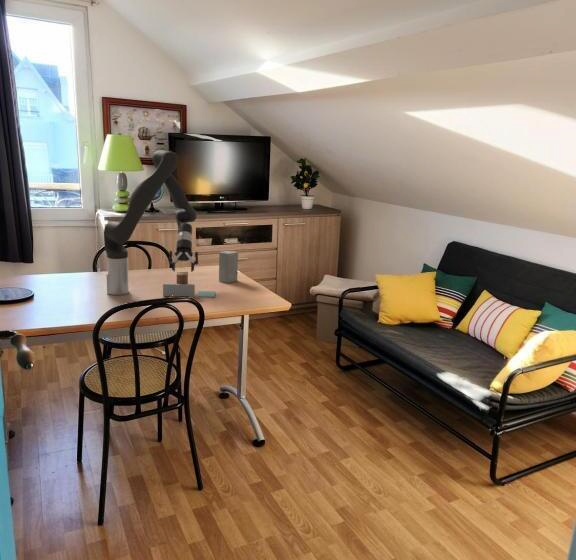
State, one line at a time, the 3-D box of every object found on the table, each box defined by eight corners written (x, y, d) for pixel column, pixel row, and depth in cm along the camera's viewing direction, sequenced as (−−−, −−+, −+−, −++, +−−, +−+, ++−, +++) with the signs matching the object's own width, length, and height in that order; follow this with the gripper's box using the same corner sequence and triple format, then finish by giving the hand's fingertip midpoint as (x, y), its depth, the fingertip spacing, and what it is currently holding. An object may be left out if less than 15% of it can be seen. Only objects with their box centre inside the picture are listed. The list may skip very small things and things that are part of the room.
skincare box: (227, 283, 271) (228, 254, 267) (217, 280, 275) (218, 251, 271) (238, 280, 278) (239, 251, 274) (228, 278, 282) (229, 249, 278)
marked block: (176, 295, 248) (176, 274, 245) (177, 291, 253) (177, 271, 250) (187, 295, 249) (187, 275, 246) (187, 292, 254) (187, 272, 251)
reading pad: (197, 297, 247) (197, 295, 247) (198, 292, 254) (198, 290, 254) (214, 297, 248) (214, 296, 248) (214, 292, 256) (214, 291, 255)
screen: (163, 296, 244) (163, 284, 243) (163, 295, 245) (163, 283, 244) (194, 297, 246) (194, 285, 245) (194, 296, 248) (194, 284, 246)
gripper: (169, 238, 257) (167, 266, 249) (198, 239, 259) (197, 267, 251) (170, 246, 263) (168, 274, 255) (198, 247, 265) (197, 274, 258)
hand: (182, 270), depth 253 cm, fingers open, 8 cm apart
